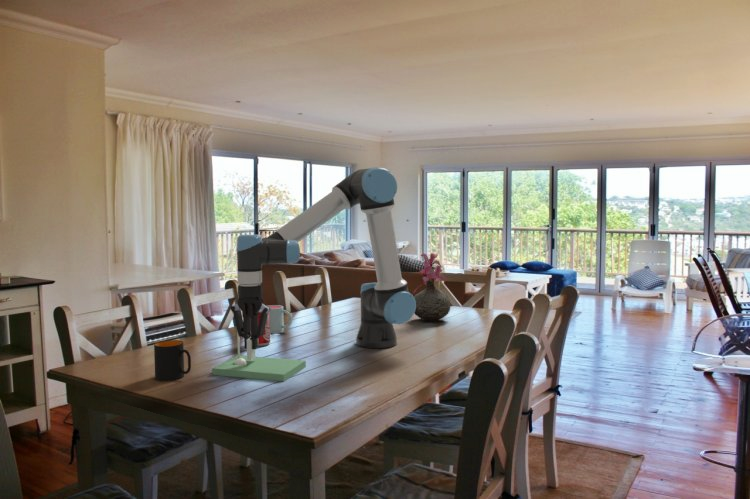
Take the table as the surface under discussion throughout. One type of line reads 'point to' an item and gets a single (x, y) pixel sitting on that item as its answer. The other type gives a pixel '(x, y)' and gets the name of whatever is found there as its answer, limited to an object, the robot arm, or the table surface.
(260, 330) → the robot arm
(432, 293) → the vase
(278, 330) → the mug
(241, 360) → the ball
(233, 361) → the miniature golf green
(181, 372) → the mug
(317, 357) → the table surface
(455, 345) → the table surface
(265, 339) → the soda can
